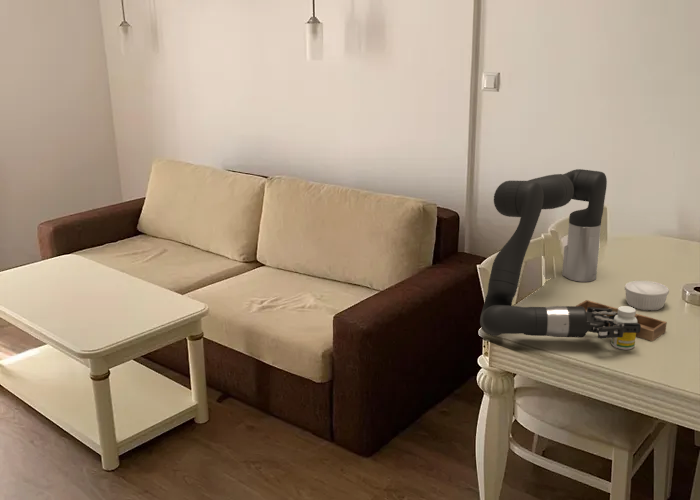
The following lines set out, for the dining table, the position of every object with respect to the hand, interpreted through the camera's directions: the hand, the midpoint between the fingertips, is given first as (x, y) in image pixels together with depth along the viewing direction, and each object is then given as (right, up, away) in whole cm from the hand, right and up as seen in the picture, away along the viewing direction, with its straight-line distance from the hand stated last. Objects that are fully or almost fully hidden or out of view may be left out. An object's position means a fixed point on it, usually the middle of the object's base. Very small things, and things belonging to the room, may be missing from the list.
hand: (636, 322), depth 172 cm
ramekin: (+13, +2, +27) cm, 30 cm away
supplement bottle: (-2, -6, +2) cm, 7 cm away
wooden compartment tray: (+1, -2, +14) cm, 14 cm away
